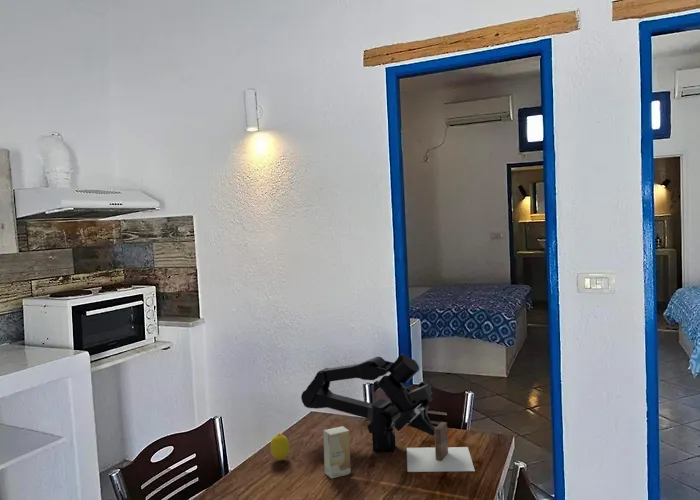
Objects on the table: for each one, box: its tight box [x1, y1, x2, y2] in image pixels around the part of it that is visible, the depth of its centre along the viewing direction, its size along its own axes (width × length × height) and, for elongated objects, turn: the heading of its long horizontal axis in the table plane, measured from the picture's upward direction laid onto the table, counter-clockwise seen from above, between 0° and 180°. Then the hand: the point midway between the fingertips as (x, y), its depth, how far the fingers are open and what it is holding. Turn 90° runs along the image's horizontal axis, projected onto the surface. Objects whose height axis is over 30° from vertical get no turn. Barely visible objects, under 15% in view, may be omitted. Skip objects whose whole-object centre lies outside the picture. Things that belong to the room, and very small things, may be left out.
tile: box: [434, 421, 449, 461], centre depth 163 cm, size 2×6×9 cm, turn 153°
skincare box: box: [323, 425, 352, 479], centre depth 156 cm, size 6×4×12 cm
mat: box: [406, 446, 476, 473], centre depth 162 cm, size 18×16×1 cm
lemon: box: [270, 433, 290, 462], centre depth 167 cm, size 6×6×8 cm
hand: (434, 434), depth 164 cm, fingers closed
